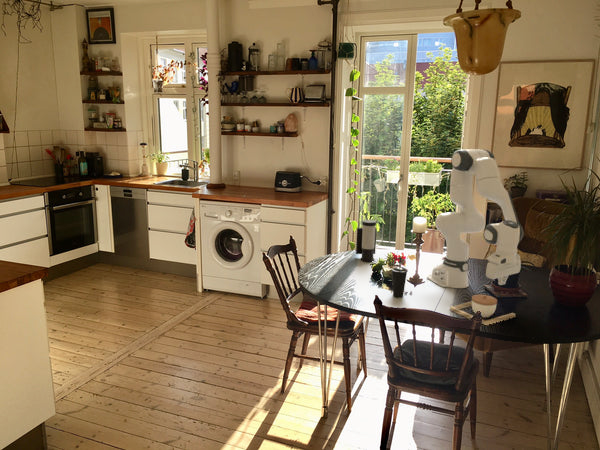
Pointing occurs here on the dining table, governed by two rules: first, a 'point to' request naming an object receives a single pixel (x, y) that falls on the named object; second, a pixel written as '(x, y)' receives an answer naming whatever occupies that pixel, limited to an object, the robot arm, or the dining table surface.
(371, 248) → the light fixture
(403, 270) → the drinking cup
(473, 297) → the lidded jar
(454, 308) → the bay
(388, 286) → the dining table surface
